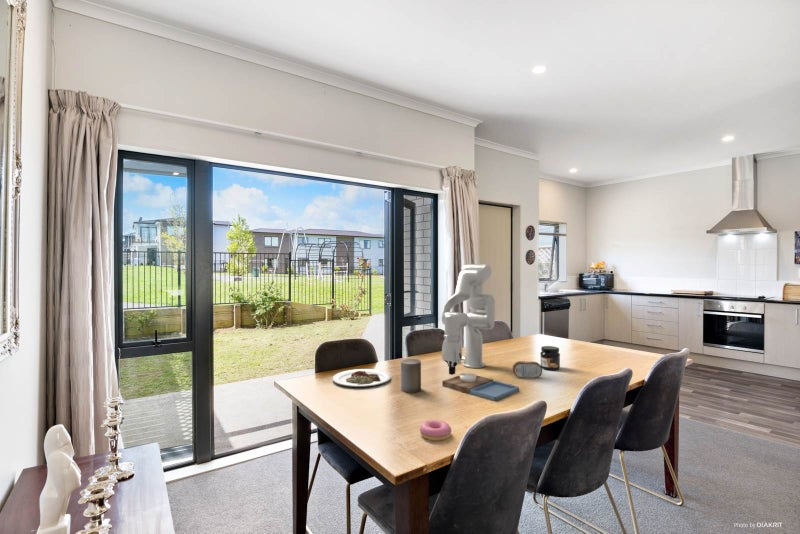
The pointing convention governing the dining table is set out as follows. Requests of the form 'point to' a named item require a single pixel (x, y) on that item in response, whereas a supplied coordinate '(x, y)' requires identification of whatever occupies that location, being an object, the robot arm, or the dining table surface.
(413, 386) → the pillar candle
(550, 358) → the supplement container
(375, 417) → the dining table surface
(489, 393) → the tray
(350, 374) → the plated food
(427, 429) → the doughnut
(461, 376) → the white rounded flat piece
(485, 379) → the wooden cutting board
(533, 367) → the tin
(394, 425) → the dining table surface
